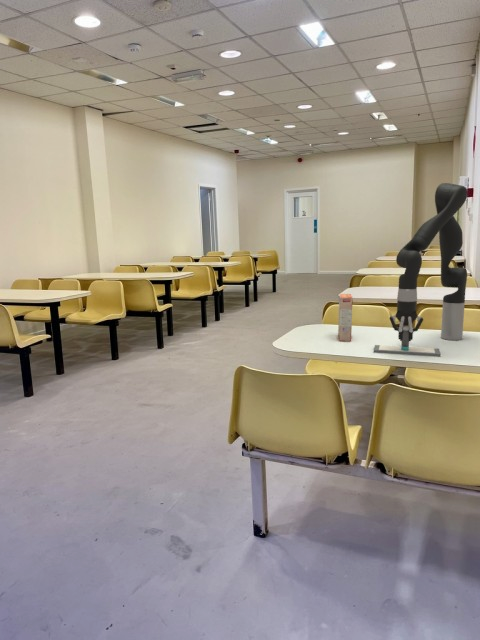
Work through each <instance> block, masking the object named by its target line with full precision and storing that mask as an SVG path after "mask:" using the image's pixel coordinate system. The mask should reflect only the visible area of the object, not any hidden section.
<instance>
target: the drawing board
mask: <svg viewBox="0 0 480 640" xmlns="http://www.w3.org/2000/svg"><path fill="white" fill-rule="evenodd" d="M373 353H375V354H376V353H377V354H391V355H392V354H393V355H408V356H410V355H411V356H422V357H423V356H425V357H426V356H427V357H437V358H438V357H441V351H440V348H437V347H434V348H433V347H420V346H417V347H416V346H409V350H408V351H404V350H401V345H400V346H399V345H382V344H381V345H380V344H374V348H373Z"/></svg>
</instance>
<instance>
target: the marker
mask: <svg viewBox="0 0 480 640" xmlns="http://www.w3.org/2000/svg"><path fill="white" fill-rule="evenodd" d="M409 332H410V328H409V325H403V327H402V341H400V342H401V343H400V344H401V345H400V346H401V350H404V351H408V350H409V347H410V341H409Z"/></svg>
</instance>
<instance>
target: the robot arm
mask: <svg viewBox="0 0 480 640" xmlns="http://www.w3.org/2000/svg"><path fill="white" fill-rule="evenodd" d="M467 198H468V189H467V187H466V186H464V185H460V184H455V183H449V182H442V183H440V184H439V185H438V186H437V187H436V189H435V193H434V203H435V205H434V206H435V211H436V215H434V216H433V217H431V218H429V219H428V220H426V221H425V222H423V224H422V225H420V227H419V228H418V230H417V231H416V232H415V234H414V235H413V236H412V238H411V239H410V240H409V241H408V242H407V243H406V244H405V245H404V246H403V247H402V248H401V249H400V250H399V251H398V252H397V255H396V258H395V260H396V261H395V262H396V264H397V266H398V267H399V268H404V269H405V270H404V273H402V274H400V275H399V277H398V290H397V298H396V299H397V303H396V313H395V314H394V315H391V316H389V320H390V324H391V326H392V328H393V330H394V331H397V332H398V338H397V339H398V340H399V341H400V342H402V327H403V326H404V325H408V326H409V328H410V332H409V342H411V341H413V338H414V333H415V332H418V331H419V329H420V327H421V326H422V324H423V322H424V317H423V316H419V315H418V313H417V305H418V304H417V302H418V291H417V289H418V277H419V275H420V273H421V272H420V271H421V268H422V264H423V258H422V255H421V253H420V252H422V251H426V249H428V248H429V246H430V244H432V241H434V239H435V237H436V236H437V235H438V239H439V250H440V252H439V253H440V283H441V286H442V287H444V288H454V289H455V288H456V289H457V290H456V291H454V292H452V293H449V294H445V295H444V296H443V297H442V313H441V332H440V338H441V339H443V340H449V341H460V340H463V334H464V333H463V332H464V321H465V319H464V318H465V317H464V316H465V304H466V303H465V299H466V288H467V280H468V270H467V268H466V267H450V263H452V261H453V259H454V258H455V257H456V255H457V254H458V253H459V252H460V251H461V249H462V247H463V243H464V242H463V241H464V240H463V236H464V235H463V230H462V228H461V225H460V224H459V222H458V221H457V219H456V218H455V216H454V215H456V213H457V212H458V211H459V210H460V209H461V208H462V207H463V205H464V204H465V202H466V201H467ZM396 319H397V320H398V322H399V327H398V326H397V324H396ZM415 320H416V321H417V323H416V325H415V327H413V322H415Z"/></svg>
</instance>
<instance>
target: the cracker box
mask: <svg viewBox="0 0 480 640" xmlns="http://www.w3.org/2000/svg"><path fill="white" fill-rule="evenodd" d="M353 299H354V298H353V296H352V294H351V293H339V296H338V331H337V332H338V333H337V335H338V341H339V342H352V330H353V329H352V326H353V322H352V321H353Z"/></svg>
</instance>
